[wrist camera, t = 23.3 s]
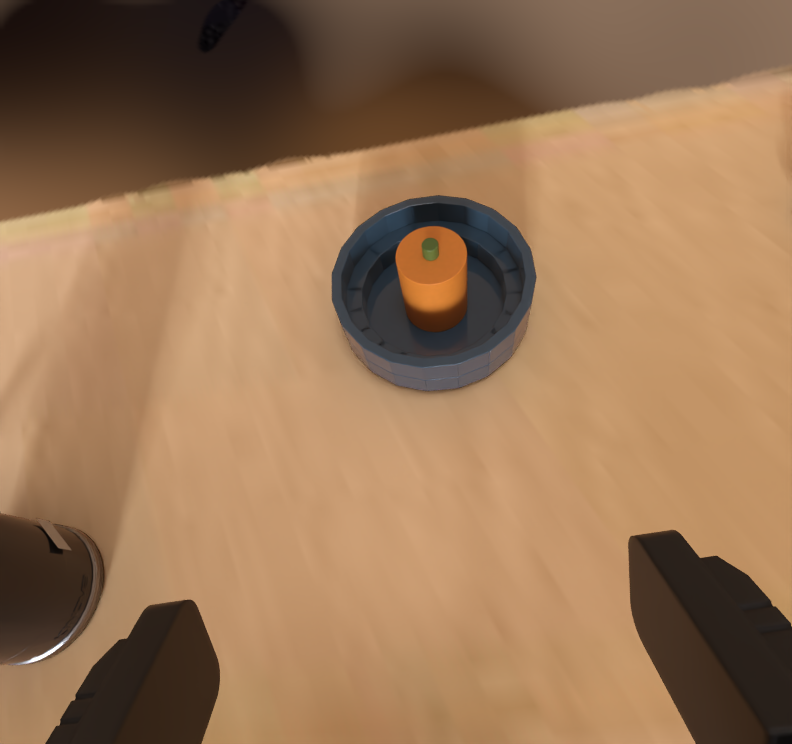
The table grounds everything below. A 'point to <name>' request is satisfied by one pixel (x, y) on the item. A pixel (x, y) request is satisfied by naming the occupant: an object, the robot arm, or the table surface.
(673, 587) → the robot arm
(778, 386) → the table surface
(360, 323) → the bowl
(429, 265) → the squash
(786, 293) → the table surface
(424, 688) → the table surface
